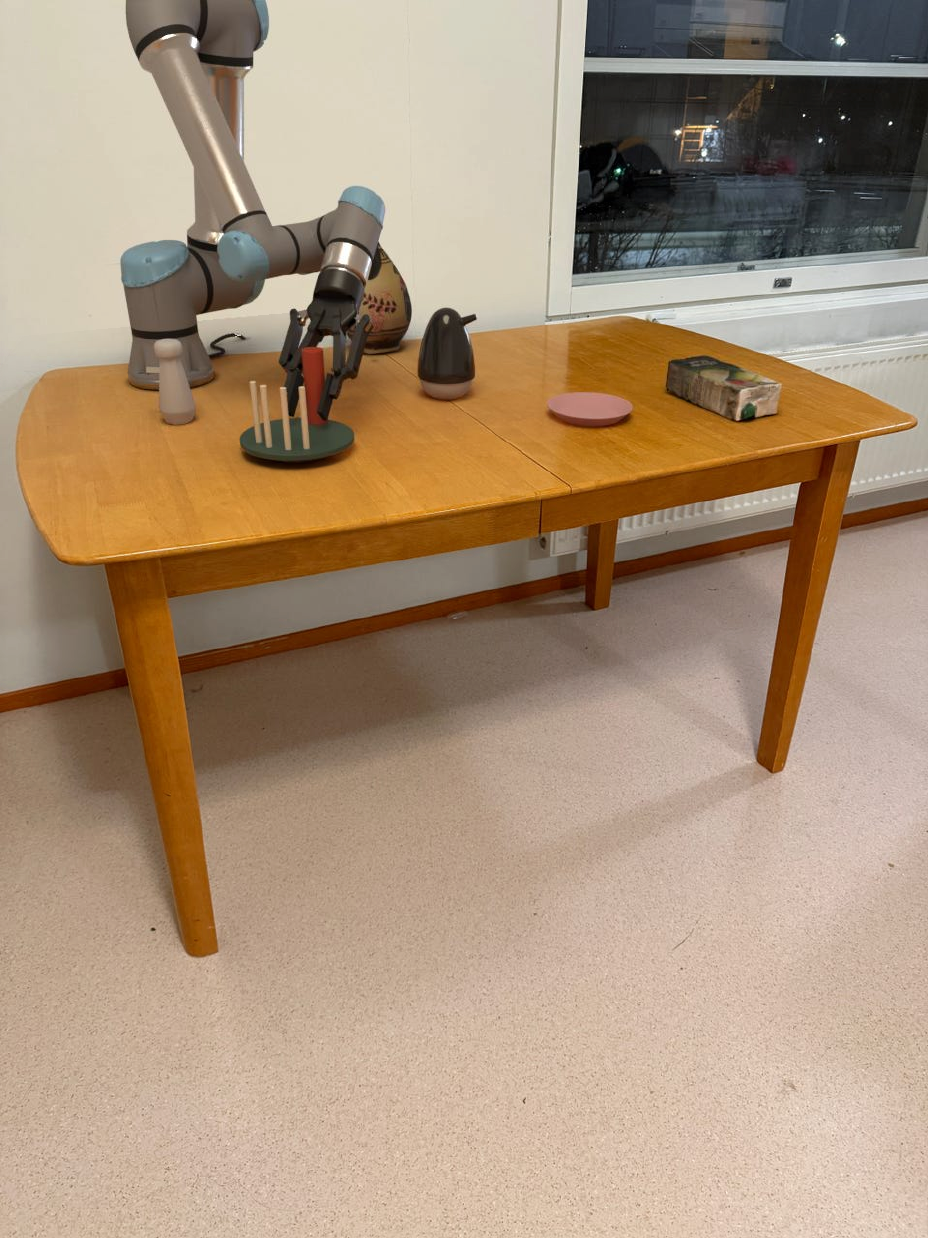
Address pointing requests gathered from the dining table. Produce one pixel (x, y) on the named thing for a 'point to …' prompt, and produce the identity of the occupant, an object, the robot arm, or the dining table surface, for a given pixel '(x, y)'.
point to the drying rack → (296, 421)
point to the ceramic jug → (385, 305)
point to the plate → (589, 408)
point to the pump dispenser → (446, 355)
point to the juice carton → (723, 387)
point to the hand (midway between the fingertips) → (305, 414)
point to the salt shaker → (173, 384)
